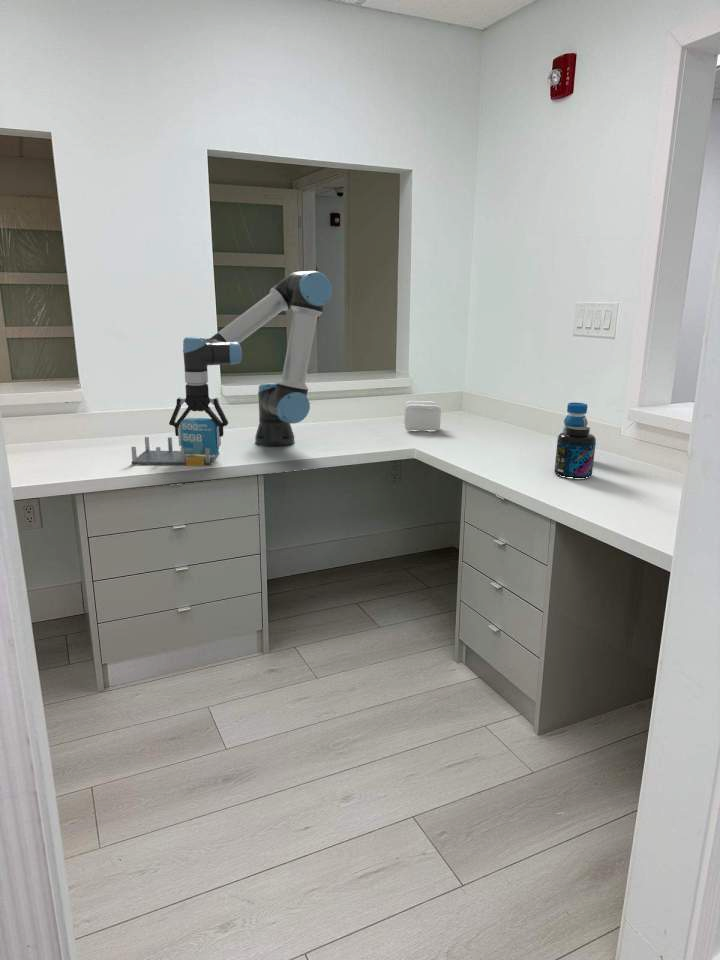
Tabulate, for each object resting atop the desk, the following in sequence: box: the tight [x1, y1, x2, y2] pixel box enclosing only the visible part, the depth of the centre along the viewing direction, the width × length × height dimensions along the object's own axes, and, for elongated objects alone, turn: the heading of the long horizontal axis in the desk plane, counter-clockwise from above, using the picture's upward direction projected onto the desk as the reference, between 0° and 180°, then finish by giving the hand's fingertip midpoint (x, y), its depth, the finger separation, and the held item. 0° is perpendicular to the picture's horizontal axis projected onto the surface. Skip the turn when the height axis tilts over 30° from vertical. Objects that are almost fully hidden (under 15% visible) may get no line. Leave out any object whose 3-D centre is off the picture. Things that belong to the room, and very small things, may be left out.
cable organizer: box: [403, 400, 442, 431], centre depth 286 cm, size 15×11×12 cm
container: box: [554, 425, 597, 478], centre depth 219 cm, size 12×12×16 cm
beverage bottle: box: [562, 401, 589, 432], centre depth 240 cm, size 8×8×20 cm
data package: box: [179, 417, 220, 455], centre depth 231 cm, size 12×4×12 cm, turn 82°
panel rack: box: [131, 436, 220, 467], centre depth 232 cm, size 26×17×6 cm, turn 91°
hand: (200, 445), depth 232 cm, fingers closed on data package, 12 cm apart
